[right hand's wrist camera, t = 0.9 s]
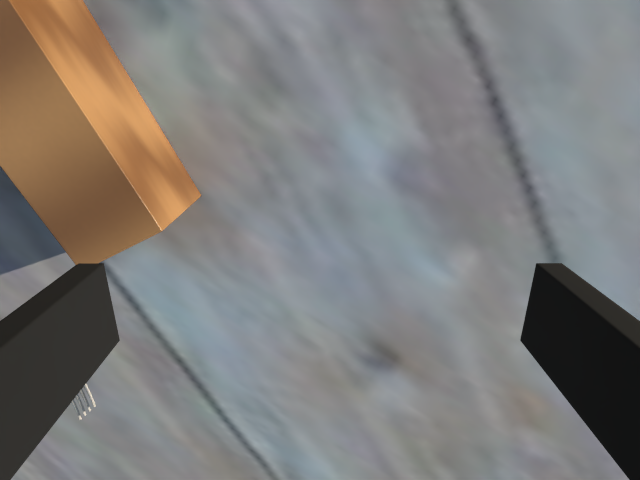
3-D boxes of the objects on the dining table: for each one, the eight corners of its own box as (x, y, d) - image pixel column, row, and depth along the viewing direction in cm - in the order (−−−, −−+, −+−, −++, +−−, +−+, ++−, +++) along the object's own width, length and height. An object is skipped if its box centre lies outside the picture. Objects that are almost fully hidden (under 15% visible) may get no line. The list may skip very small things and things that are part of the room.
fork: (-50, 275, 33) (-72, 286, 32) (107, 390, 38) (96, 405, 36) (-67, 294, 34) (-89, 306, 32) (90, 405, 38) (79, 421, 36)
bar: (201, 195, 31) (162, 231, 24) (138, 227, 32) (80, 272, 24) (-23, -174, 24) (-194, -307, 16) (-98, -120, 25) (-295, -219, 17)
